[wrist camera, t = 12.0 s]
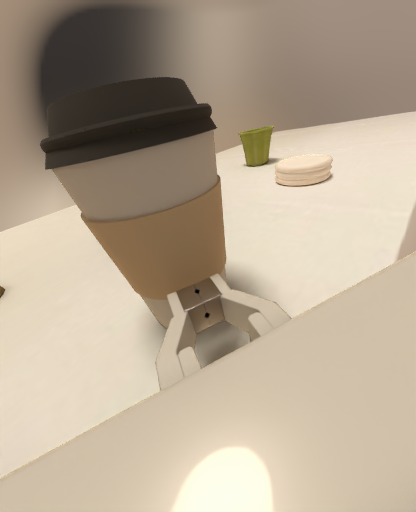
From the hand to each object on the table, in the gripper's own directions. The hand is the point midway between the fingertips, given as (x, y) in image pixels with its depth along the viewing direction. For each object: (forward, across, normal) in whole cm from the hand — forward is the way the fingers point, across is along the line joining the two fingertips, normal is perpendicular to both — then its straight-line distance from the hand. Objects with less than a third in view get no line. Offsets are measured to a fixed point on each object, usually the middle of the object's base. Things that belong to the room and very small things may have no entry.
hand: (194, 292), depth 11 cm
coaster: (+23, -31, +6) cm, 39 cm away
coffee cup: (+5, 0, +6) cm, 8 cm away
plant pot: (+45, -35, +6) cm, 57 cm away
